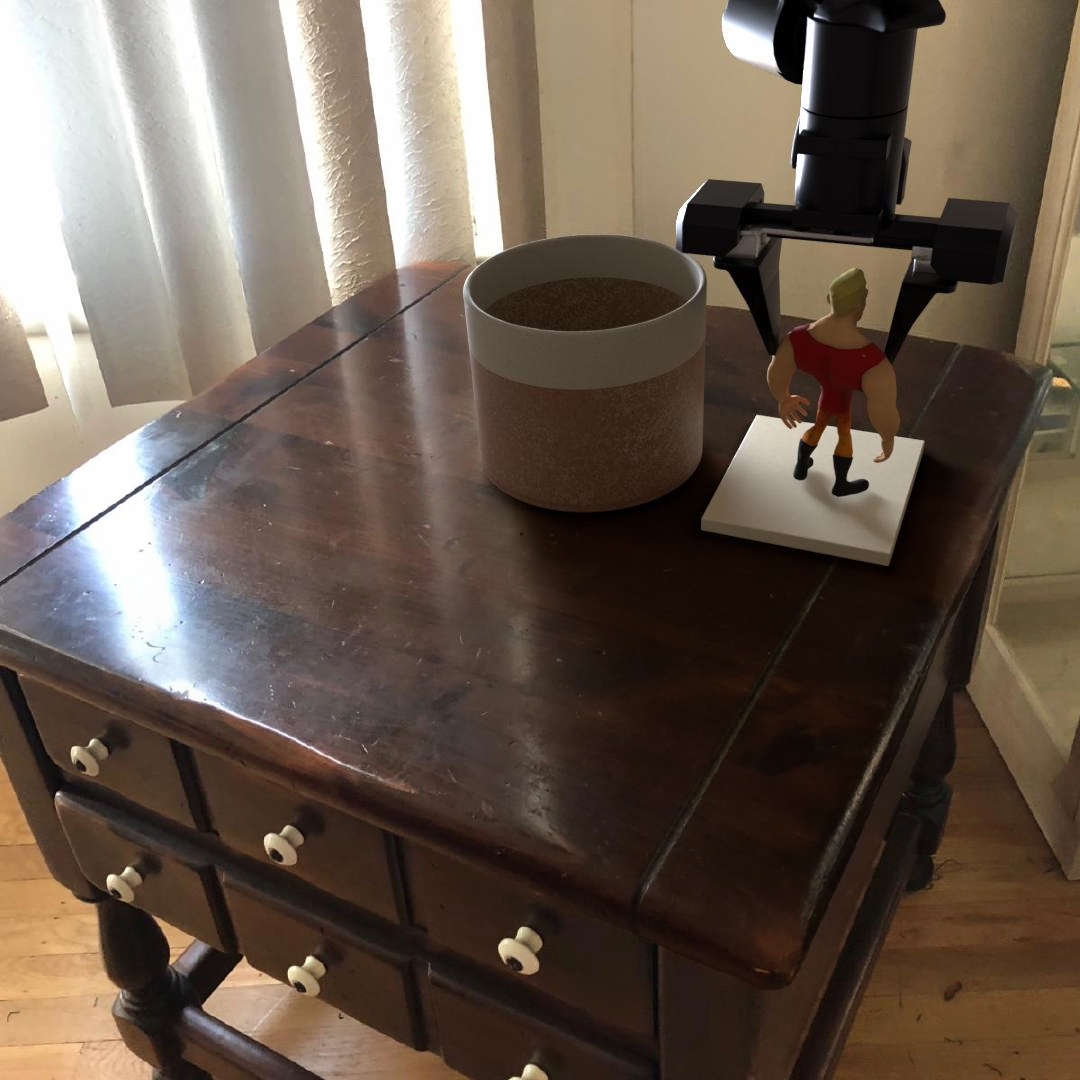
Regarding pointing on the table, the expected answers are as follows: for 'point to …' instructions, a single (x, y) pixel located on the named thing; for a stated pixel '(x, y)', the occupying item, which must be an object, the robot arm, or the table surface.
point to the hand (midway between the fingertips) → (829, 360)
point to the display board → (814, 493)
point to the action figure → (837, 380)
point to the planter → (588, 369)
